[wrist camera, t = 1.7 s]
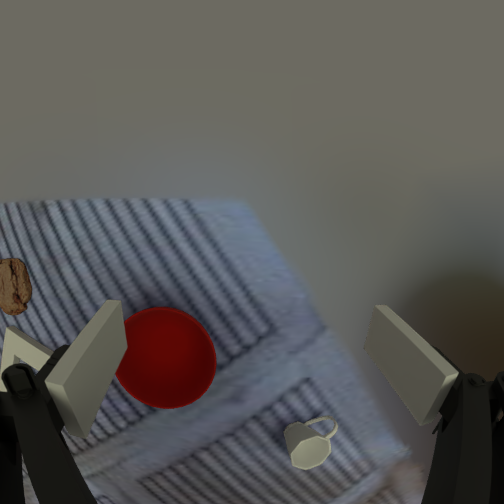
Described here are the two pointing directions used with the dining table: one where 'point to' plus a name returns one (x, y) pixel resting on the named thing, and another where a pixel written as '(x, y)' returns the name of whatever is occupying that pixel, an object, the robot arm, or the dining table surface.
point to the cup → (308, 443)
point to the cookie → (14, 286)
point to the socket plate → (22, 351)
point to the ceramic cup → (166, 358)
